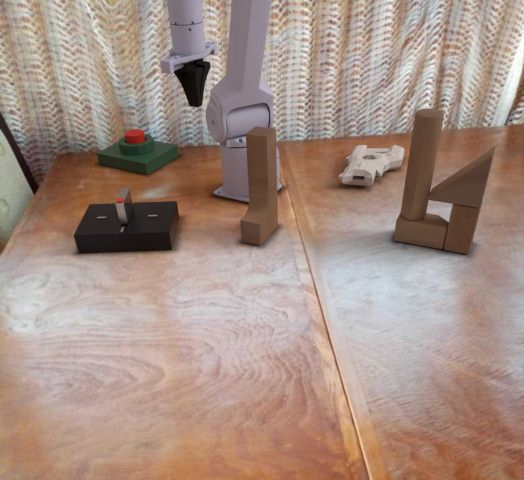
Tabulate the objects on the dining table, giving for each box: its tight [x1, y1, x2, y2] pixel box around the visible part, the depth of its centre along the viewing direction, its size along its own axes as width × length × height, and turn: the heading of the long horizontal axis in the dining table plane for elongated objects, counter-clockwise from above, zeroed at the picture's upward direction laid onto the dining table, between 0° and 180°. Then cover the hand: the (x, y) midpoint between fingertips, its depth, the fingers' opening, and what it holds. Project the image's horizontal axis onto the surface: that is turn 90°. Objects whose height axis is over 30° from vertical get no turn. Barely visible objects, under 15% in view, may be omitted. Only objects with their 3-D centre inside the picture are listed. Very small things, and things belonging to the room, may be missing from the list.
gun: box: [338, 144, 406, 187], centre depth 97 cm, size 18×3×10 cm
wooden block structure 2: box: [393, 107, 497, 255], centre depth 73 cm, size 4×11×18 cm, turn 66°
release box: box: [96, 133, 180, 176], centre depth 105 cm, size 12×10×4 cm
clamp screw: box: [114, 187, 134, 225], centre depth 80 cm, size 5×1×4 cm, turn 0°
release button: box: [124, 128, 145, 144], centre depth 103 cm, size 4×4×2 cm
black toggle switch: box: [73, 200, 180, 254], centre depth 83 cm, size 14×10×3 cm
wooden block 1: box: [239, 126, 279, 246], centre depth 78 cm, size 7×3×15 cm, turn 155°
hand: (195, 105), depth 100 cm, fingers closed
